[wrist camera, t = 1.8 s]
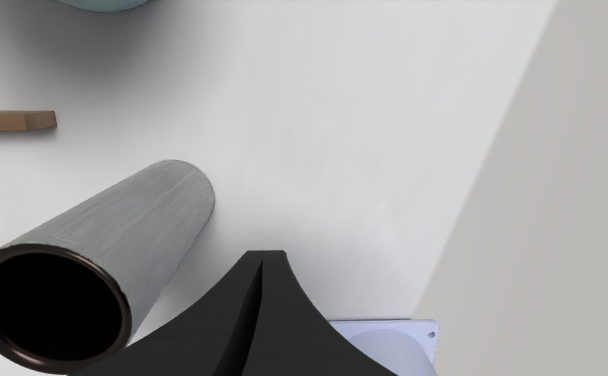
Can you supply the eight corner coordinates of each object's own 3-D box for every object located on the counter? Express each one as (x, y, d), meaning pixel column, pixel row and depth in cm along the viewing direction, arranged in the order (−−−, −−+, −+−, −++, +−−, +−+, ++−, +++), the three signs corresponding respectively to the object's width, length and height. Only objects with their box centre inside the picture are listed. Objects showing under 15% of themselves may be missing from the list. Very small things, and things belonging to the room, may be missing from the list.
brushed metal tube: (133, 156, 18) (-59, 240, 8) (214, 161, 18) (122, 247, 8) (141, 229, 19) (-16, 376, 9) (216, 232, 19) (139, 378, 10)
